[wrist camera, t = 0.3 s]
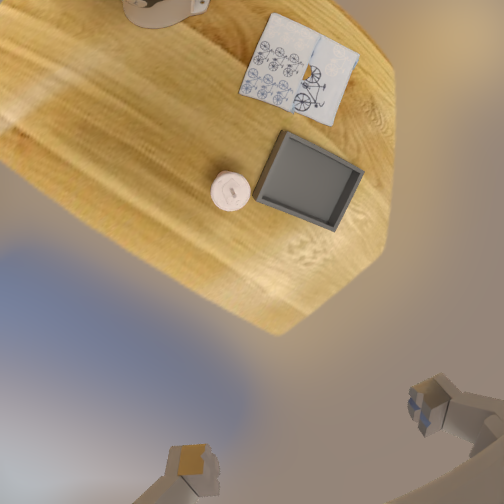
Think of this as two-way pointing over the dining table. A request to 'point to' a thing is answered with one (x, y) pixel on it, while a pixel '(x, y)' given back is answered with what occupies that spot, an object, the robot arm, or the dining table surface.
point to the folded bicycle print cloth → (299, 70)
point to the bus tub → (307, 181)
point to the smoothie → (230, 191)
